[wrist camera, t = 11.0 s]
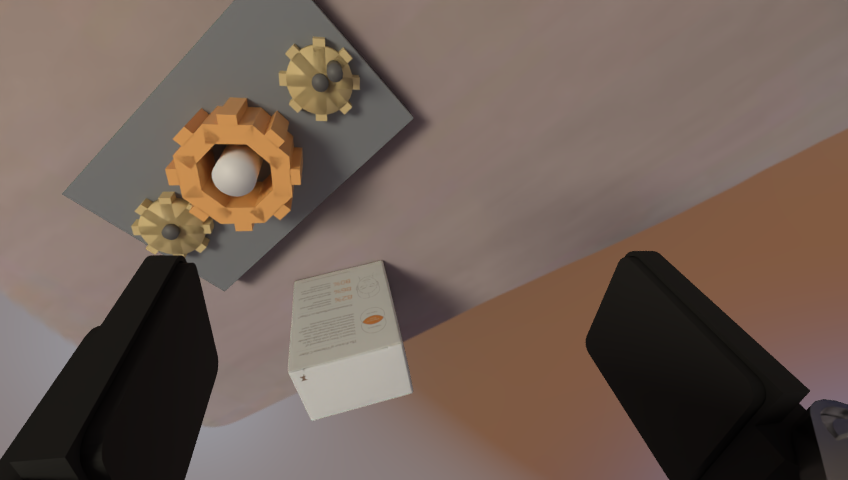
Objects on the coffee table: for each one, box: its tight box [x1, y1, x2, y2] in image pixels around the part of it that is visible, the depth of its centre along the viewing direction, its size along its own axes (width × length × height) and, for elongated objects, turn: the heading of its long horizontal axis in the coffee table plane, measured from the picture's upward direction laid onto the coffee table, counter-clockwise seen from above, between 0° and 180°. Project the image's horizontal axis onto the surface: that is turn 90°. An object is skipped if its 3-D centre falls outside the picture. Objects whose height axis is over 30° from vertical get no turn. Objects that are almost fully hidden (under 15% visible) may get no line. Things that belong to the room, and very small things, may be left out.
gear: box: [165, 97, 303, 231], centre depth 26 cm, size 7×7×4 cm
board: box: [62, 0, 413, 291], centre depth 27 cm, size 20×12×6 cm, turn 130°
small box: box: [288, 261, 413, 421], centre depth 34 cm, size 8×6×10 cm
